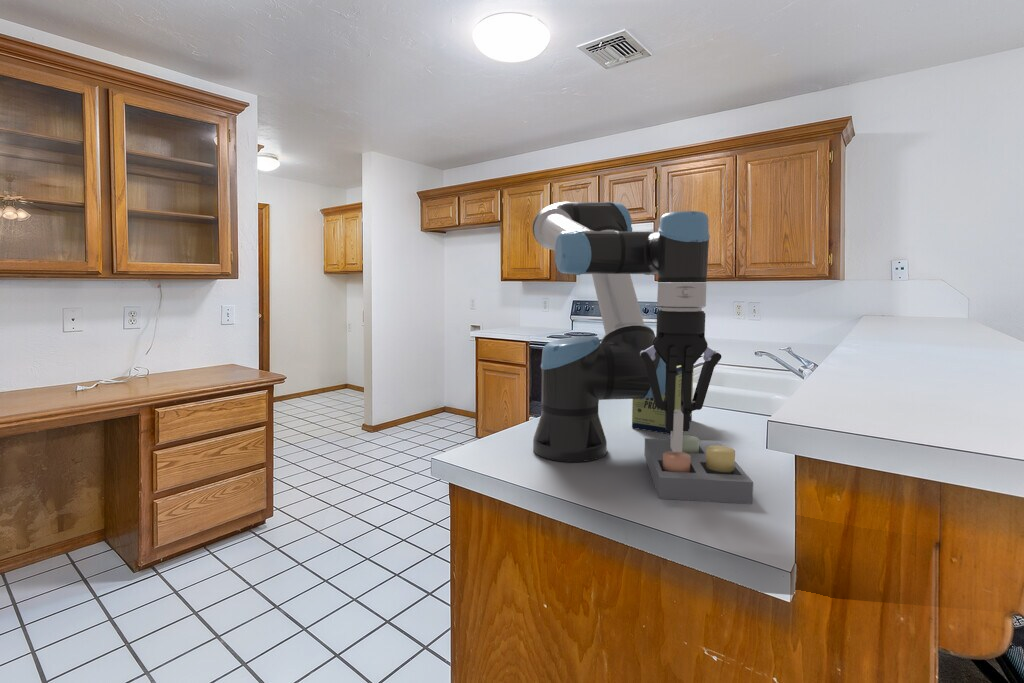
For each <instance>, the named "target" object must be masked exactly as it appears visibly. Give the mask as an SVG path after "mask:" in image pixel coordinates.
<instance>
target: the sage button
mask: <svg viewBox="0 0 1024 683" xmlns="http://www.w3.org/2000/svg"><path fill="white" fill-rule="evenodd" d="M699 440H700V438H699V437H697V436H694V435H688V434H683V443H682V452H684V453H699Z"/></svg>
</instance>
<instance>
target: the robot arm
mask: <svg viewBox="0 0 1024 683" xmlns="http://www.w3.org/2000/svg"><path fill="white" fill-rule="evenodd" d="M632 224H633V221H632V217H631V214H630V211H629V209H628V208H627V207H626V205H624V204H622V203H620V202H612V201H603V202H596V201H594V202H592V201H561V202H555V203H552V204H550V205H547V206H545V207H544V208H542V209H541V210H540V211H539V212H537V214H536V215H535V217H534V220H533V222H532V235H533V237H534V239H535V240H536V242H537V243H538V244H539V245H540V246H541V247H543V248H545V249H547V250H553V251H554V261H555V265H556V269H557V270H558V272H559V273H561V274H565V275H566V274H567V275H574V276H580V275H591V276H592V277H591V278H592V281H593V286H594V288H595V289H594V290H595V293H596V299H597V303H598V306H599V311H600V316H601V320H602V325H603V331H604V333H605V334H604V336H603V337H602V338H601V340H600V338H599V337H597V336H591V335H587V336H586V335H585V336H574V337H565V338H560V339H556V340H552V341H550V342H548V343H546V344H545V345H544V346H543V348H542V353H541V363H540V369H541V414H540V417H539V420H538V423H537V426H536V429H535V432H534V436H533V440H532V441H533V442H532V450H533V453H535V454H536V455H537V456H539V457H542V458H544V459H547V460H552V461H557V462H563V463H564V462H565V463H579V462H580V463H581V462H582V463H583V462H589V461H595V460H598V459H600V458H602V457H604V456H606V454H607V451H608V450H607V448H608V447H607V446H608V445H607V438H606V434H605V431H604V429H603V428H604V427H603V425H602V421H601V419H600V415H599V402H600V401H602V400H606V401H607V400H608V401H609V400H633V399H646V398H653V400H654V403H655V405H656V407H657V408H659V409H663V410H664V411H665V428H666V430H667V431H671V434H670V438H669V439H670V447H671V449H672V451H673V452H682V443H683V435H684V432H690V426H691V425H690V424H691V423H690V422H691V421H690V414H691V412H692V413H693V412H694V411H697V410H698V411H700V410H701V409H702V408H703V406H704V402H705V400H706V396H707V393H708V389H709V387H710V383H711V380H712V377H713V372H714V370H715V368H716V366H717V364H718V363H719V362H720V360H721V359H722V354H721V353H719V352H718V351H716V350H713V349H711V347H708V346H709V345H708V342H707V340H706V336H705V333H706V313H705V311H703V310H702V308H705V307H706V306H707V279H708V264H709V263H708V262H709V246H710V245H709V244H710V238H711V236H710V231H709V229H710V228H709V216H708V215H707V214H706V213H705V212H703V211H698V210H697V211H695V210H684V211H683V210H682V211H672V212H667V213H664V214H663V215H662V216H660V219H659V226H658V231H633V227H632ZM631 275H648V276H649V275H653V276H656V275H657V282H658V283H657V302H656V303H657V304H656V306H657V307H658V308H660V309H659V310H658V312H656V329H655V330H656V333H655V332H654V330H653V329H652V328H651V327H650V326H648V325H646V324H645V323H644V319H643V315H642V312H641V308H640V305H639V302H638V298H637V294H636V290H635V286H634V284H633V278H632V276H631ZM703 354H704V355H703ZM702 355H703V361H704V362H703V363H702V367H701V371H700V373H699V377H698V380H697V383H696V387H695V391H694V394H693V399H692V401H691V392H692V372H693V373H694V370H693V364H696V363H697V361H698V360H699V359H700V357H701V356H702ZM679 365H681V369H682V379H681V410H674V408H675V382H676V370H677V366H679ZM664 393H665V401H663V400H662V395H663V394H664Z"/></svg>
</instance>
